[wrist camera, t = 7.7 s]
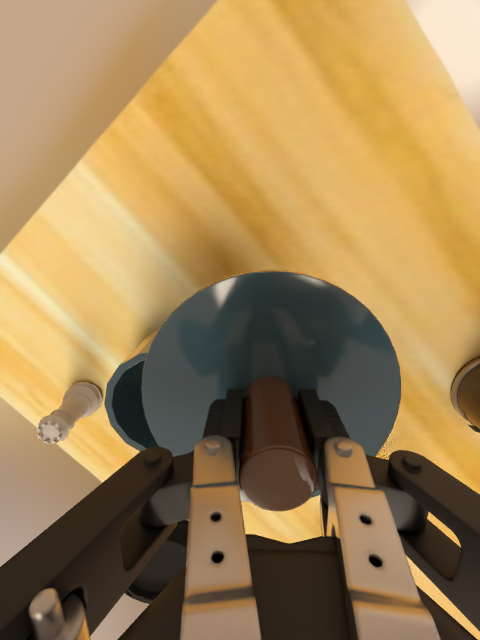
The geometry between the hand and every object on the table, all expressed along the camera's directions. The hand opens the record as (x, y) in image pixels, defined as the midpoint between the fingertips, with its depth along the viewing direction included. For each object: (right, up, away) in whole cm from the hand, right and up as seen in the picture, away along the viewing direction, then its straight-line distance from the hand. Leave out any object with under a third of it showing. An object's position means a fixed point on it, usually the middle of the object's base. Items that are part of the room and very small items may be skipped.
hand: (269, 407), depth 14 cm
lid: (0, 0, +1) cm, 1 cm away
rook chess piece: (-21, -6, +26) cm, 34 cm away
